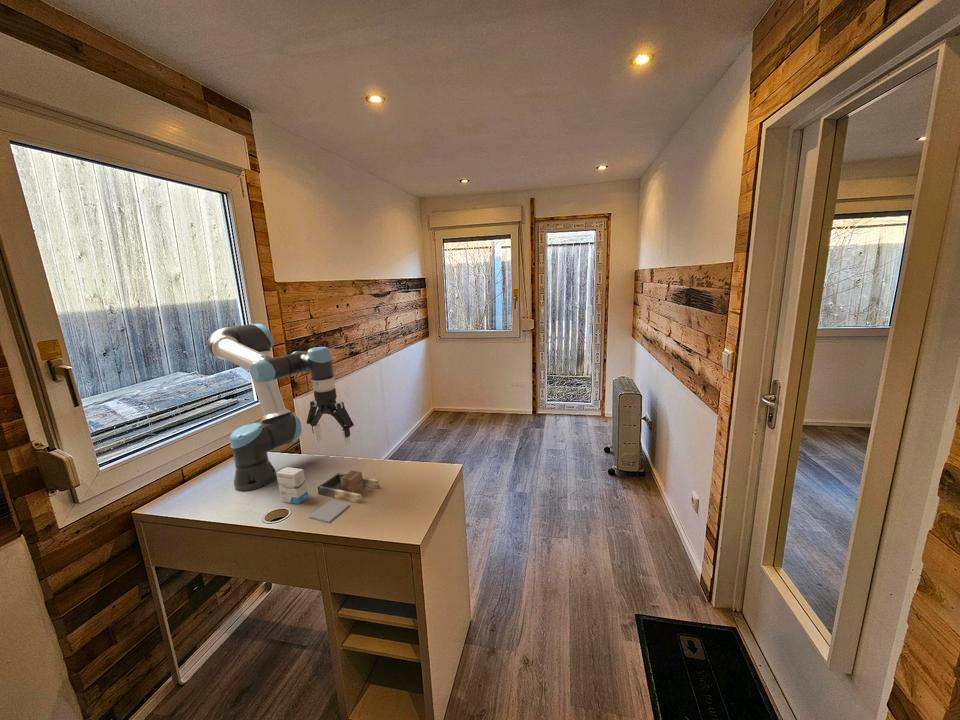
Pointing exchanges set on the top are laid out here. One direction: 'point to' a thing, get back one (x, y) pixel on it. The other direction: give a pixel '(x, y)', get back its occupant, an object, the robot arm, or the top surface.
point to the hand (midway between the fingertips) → (332, 443)
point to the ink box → (292, 485)
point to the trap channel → (335, 490)
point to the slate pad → (329, 511)
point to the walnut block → (352, 482)
